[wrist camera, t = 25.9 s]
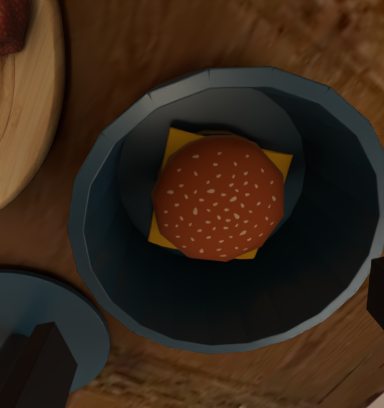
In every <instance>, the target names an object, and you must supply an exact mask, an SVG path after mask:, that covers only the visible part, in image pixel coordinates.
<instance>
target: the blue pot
mask: <svg viewBox="0 0 384 408" xmlns="http://www.w3.org/2000/svg"><path fill="white" fill-rule="evenodd" d="M170 127H172V128H176V129H179V130H183V131H186V132H190V133H193V132H196V131H198V130H201V129H228V130H230V131H233V132H235V133H237V134H239V135H242V136H244V137H246V138H247V139H248V140H250V141H253V142H256V143H257V145H258V146H259V147H260V148H261V149H265V150H270V151H275V152H280V153H286V154H293V157H292V160H291V163H290V166H289V170H288V173H287V176H286V179H285V182H284V216H283V217H282V219H281V220H280V222H279V223H278V224H277V226H276V227H275V229H274V230H273V231H272V233H271V234H270V236H269V237H268V238H267V240H266V241H265V243H264V244H263V245H262V247H259V248H258V250H257V252H256V255H255V257H254V258H253V259H236V258H234V259H232V260H229V261H227V262H224V261H215V260H206V259H197V258H189V257H188V256H186V255H185V254H184V253H183V252H181V251H180V250H179V249H174V248H169V247H164V246H160V245H158V244H155V243H152V242H149V241H148V236H149V231H150V226H151V221H152V216H153V211H154V208H153V203H152V199H151V192H152V190H153V188H154V186H155V184H156V181H157V173H158V171H159V168H160V166H161V163H162V161H163V158H164V154H165V149H166V144H167V139H168V134H169V128H170ZM67 228H68V234H69V238H70V242H71V246H72V251H73V255H74V259H75V263H76V267H77V271H78V273H79V275H80V276H81V278H82V279H83V281H84V282H85V284H86V285H87V287H88V288H89V290H90V291H91V293H92V294H93V296H94V297H95V299H96V301H97V302H98V304H99V305H100V306H101V307H102V308H103V309H104V310H106V311H107V312H108V313H109V314H111V315H112V316H113V317H114V318H116V319H117V320H118V321H119V322H121V323H122V324H123V325H124V326H126V327H127V328H128V329H129V330H131V331H132V332H133V333H136V334H138V335H141V336H143V337H145V338H148V339H150V340H152V341H155V342H157V343H159V344H162V345H164V346H167V347H169V348H175V349H181V350H187V351H194V352H200V353H206V354H208V353H209V354H215V353H230V352H245V351H250V350H254V349H257V348H261V347H264V346H268V345H271V344H275V343H278V342H282V341H285V340H288V339H291V338H293V337H295V336H297V335H298V334H300V333H302V332H304V331H306V330H308V329H309V328H311V327H313V326H315V325H317V324H319V323H321V322H322V321H324V320H325V319H327V318H328V317H329V316H330V315H331V314H332V313H333V312H335V311H336V310H337V309H338V308H339V307H340V306H341V305H342V304H344V303H345V302H346V301H347V300H348V299H349V298H350V297H351V296H353V295H354V294H355V293H356V291H358V289H359V288H360V286H361V285H362V283H363V282H364V280H365V279H366V277H367V276H368V274H369V273H370V267H371V259H374V258H379V257H380V255H381V254H382V251H383V248H384V150H383V148H382V146H381V144H380V142H379V140H378V138H377V135H376V133H375V131H374V129H373V127H372V125H371V123H370V122H369V121H368V120H367V119H366V118H365V117H364V116H363V115H362V114H360V113H359V112H358V111H357V110H356V109H355V108H354V107H353V106H351V105H350V104H349V103H348V102H347V101H346V100H345V99H344V98H342V97H341V96H340V95H339V94H338V93H337V92H336V91H335V90H333V89H332V88H331V87H328V86H327V85H325V84H322V83H319V82H316V81H313V80H310V79H307V78H304V77H302V76H299V75H296V74H293V73H290V72H287V71H284V70H282V69H279V68H276V67H271V66H267V67H230V68H206V69H198V70H193V71H190V72H187V73H185V74H182V75H180V76H177V77H174V78H172V79H169V80H167V81H164V82H162V83H159V84H158V85H156V86H155V87H153V88H152V89H151V90H149V91H148V92H146V93H145V94H144V95H143V96H142V97H141V98H139V99H138V100H137V101H136V102H135V103H134V104H132V105H131V106H130V107H129V108H128V109H127V110H125V111H124V112H123V113H122V114H121V115H120V116H118V117H117V118H116V119H115V120H114V121H113V122H112V123H110V124H109V125H108V126H107V127H106V128H105V129H103V130H102V132H101V133H100V134H99V136H98V138H97V140H96V141H95V143H94V145H93V147H92V149H91V150H90V152H89V154H88V156H87V158H86V159H85V161H84V163H83V165H82V167H81V168H80V170H79V172H78V174H77V176H76V177H75V180H74V183H73V191H72V198H71V205H70V212H69V220H68V227H67Z"/></svg>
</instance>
